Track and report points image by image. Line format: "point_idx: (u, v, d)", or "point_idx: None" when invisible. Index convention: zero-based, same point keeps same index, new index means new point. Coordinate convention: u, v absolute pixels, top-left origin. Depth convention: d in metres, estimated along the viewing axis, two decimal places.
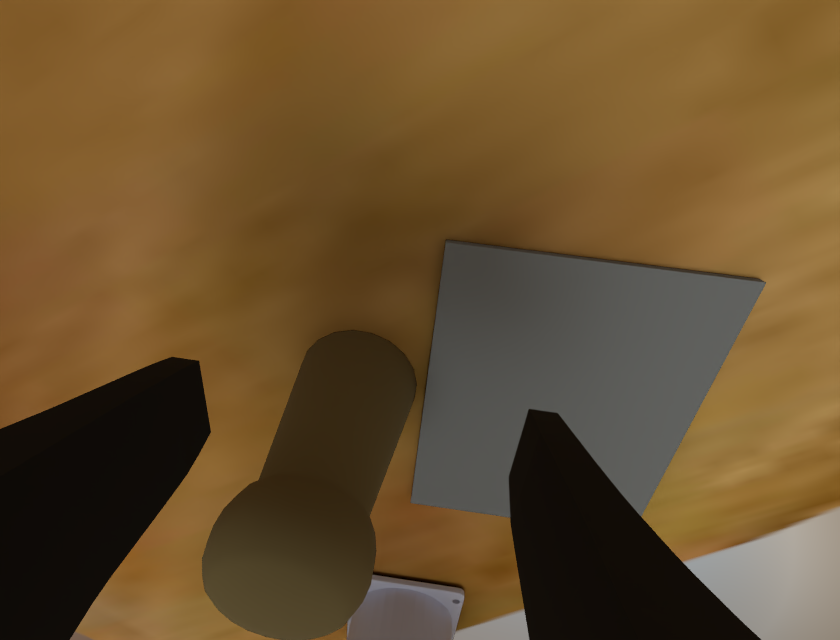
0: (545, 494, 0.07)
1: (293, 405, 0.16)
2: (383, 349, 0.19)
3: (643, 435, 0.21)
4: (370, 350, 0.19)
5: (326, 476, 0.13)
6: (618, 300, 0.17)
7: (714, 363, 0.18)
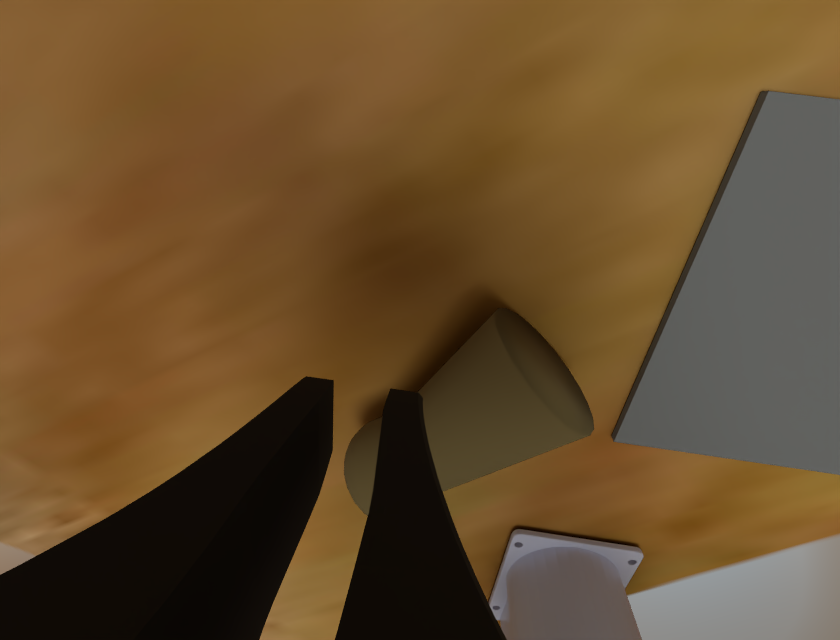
0: None
1: (425, 394, 0.18)
2: (528, 415, 0.14)
3: None
4: (509, 409, 0.15)
5: None
6: None
7: None
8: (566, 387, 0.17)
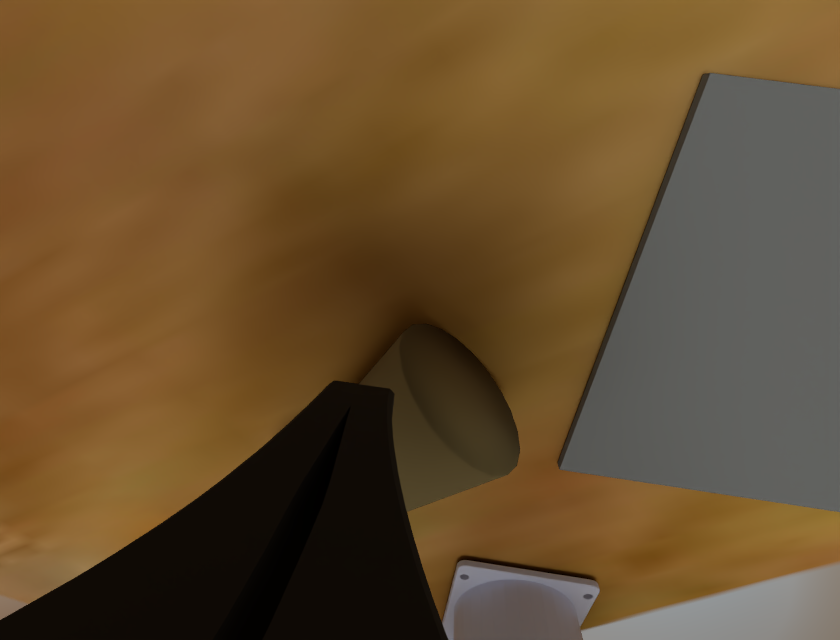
0: None
1: None
2: (428, 454, 0.12)
3: None
4: (407, 446, 0.12)
5: None
6: None
7: None
8: (489, 415, 0.15)
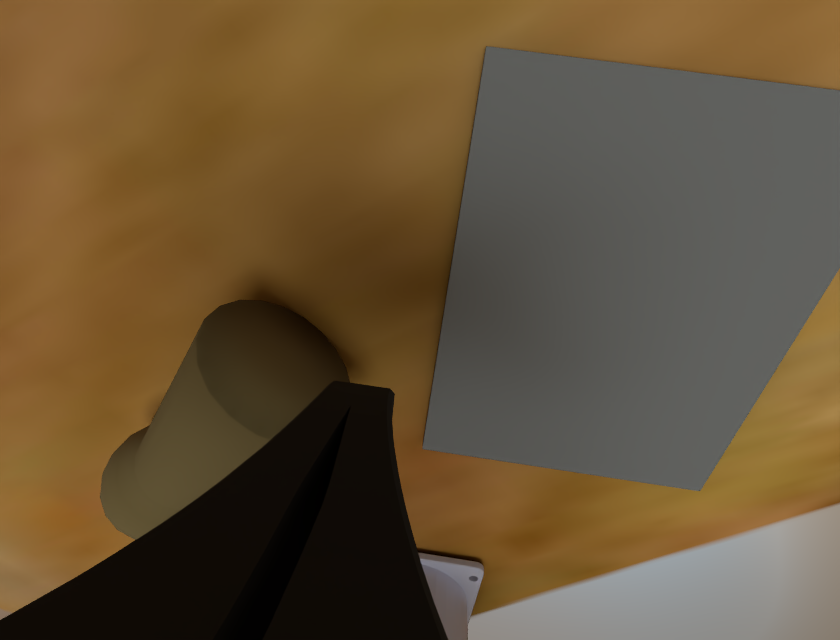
0: None
1: (164, 397, 0.16)
2: (215, 421, 0.12)
3: (733, 349, 0.16)
4: (199, 415, 0.13)
5: (141, 491, 0.16)
6: (724, 139, 0.12)
7: None
8: (314, 389, 0.15)
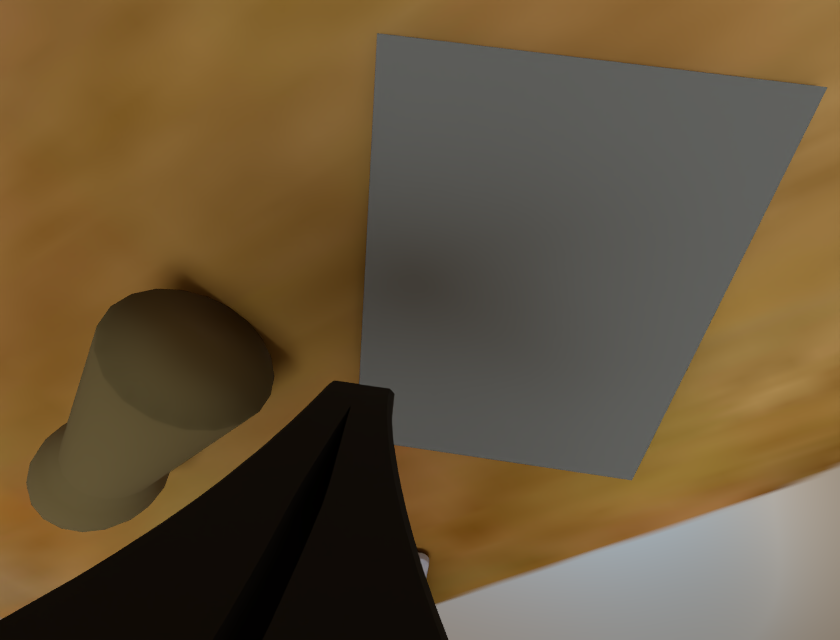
0: None
1: None
2: (113, 407, 0.12)
3: (649, 337, 0.16)
4: (99, 400, 0.13)
5: (64, 480, 0.16)
6: (618, 124, 0.13)
7: (747, 224, 0.14)
8: (229, 377, 0.15)
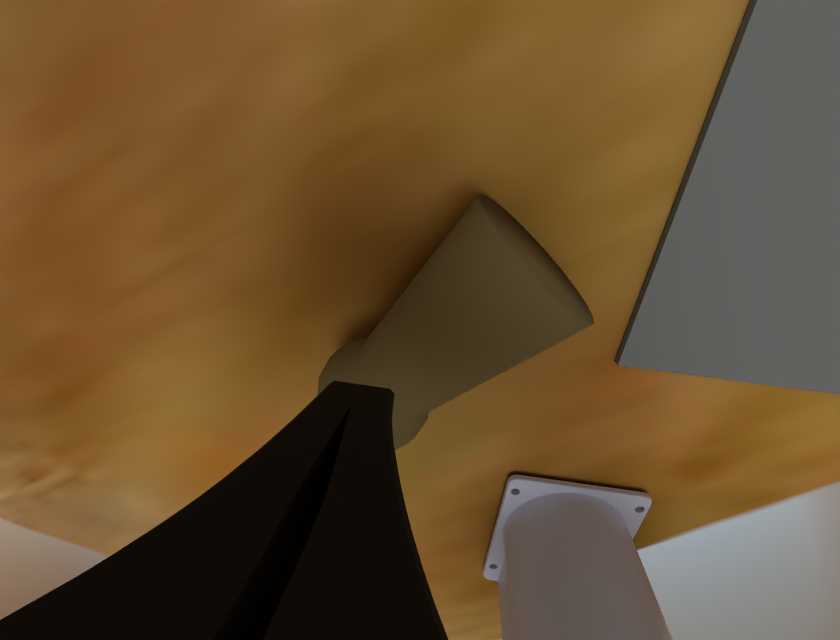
0: None
1: (403, 296, 0.16)
2: (516, 292, 0.12)
3: None
4: (494, 288, 0.13)
5: None
6: None
7: None
8: (562, 282, 0.15)
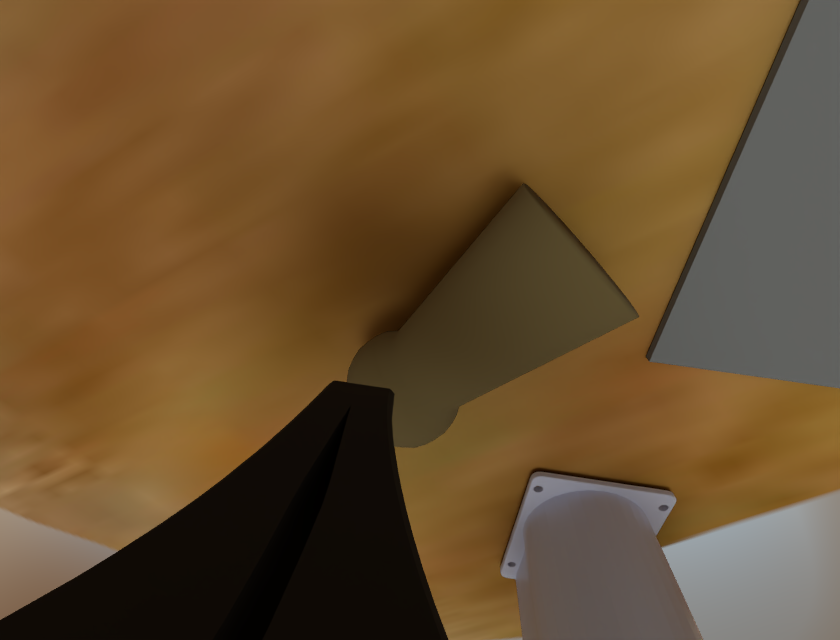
0: None
1: (440, 287, 0.15)
2: (568, 282, 0.12)
3: None
4: (543, 278, 0.12)
5: (408, 387, 0.16)
6: None
7: None
8: (604, 275, 0.15)
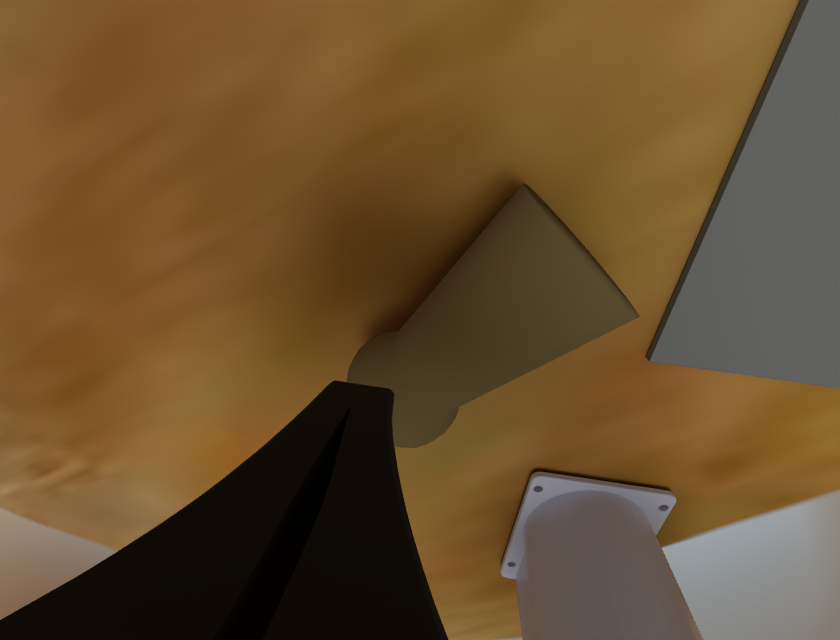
0: None
1: (440, 287, 0.15)
2: (568, 282, 0.12)
3: None
4: (543, 278, 0.12)
5: (409, 387, 0.16)
6: None
7: None
8: (604, 275, 0.15)
